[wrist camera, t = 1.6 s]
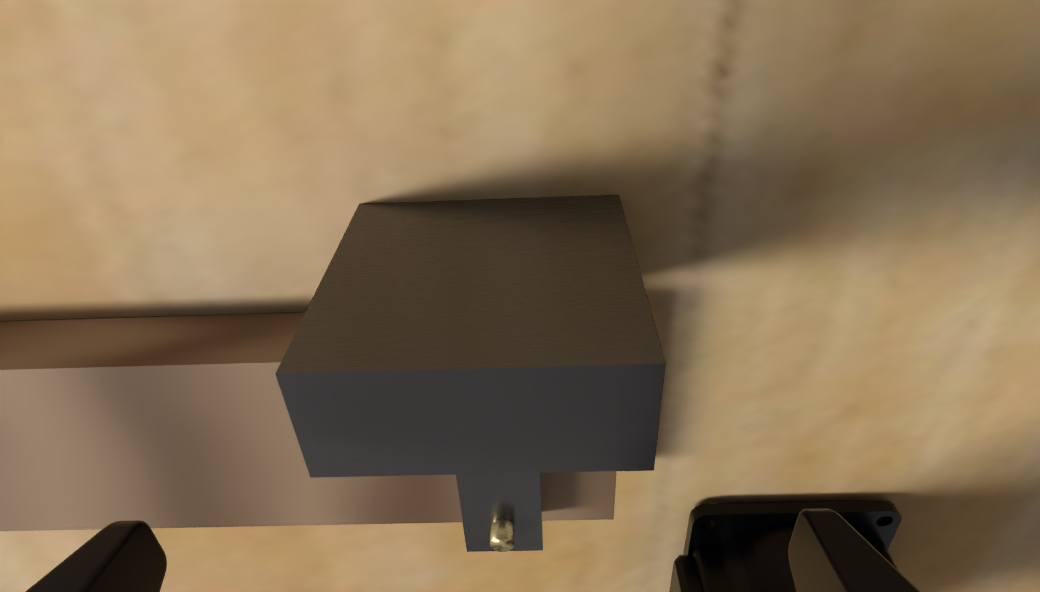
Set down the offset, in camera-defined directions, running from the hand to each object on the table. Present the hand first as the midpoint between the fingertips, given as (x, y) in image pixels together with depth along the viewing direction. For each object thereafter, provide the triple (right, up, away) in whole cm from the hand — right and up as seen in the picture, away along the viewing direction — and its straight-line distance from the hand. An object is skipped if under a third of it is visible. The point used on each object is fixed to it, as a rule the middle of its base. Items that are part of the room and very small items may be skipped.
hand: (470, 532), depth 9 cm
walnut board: (-8, 0, +9) cm, 12 cm away
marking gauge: (0, +2, +8) cm, 9 cm away
